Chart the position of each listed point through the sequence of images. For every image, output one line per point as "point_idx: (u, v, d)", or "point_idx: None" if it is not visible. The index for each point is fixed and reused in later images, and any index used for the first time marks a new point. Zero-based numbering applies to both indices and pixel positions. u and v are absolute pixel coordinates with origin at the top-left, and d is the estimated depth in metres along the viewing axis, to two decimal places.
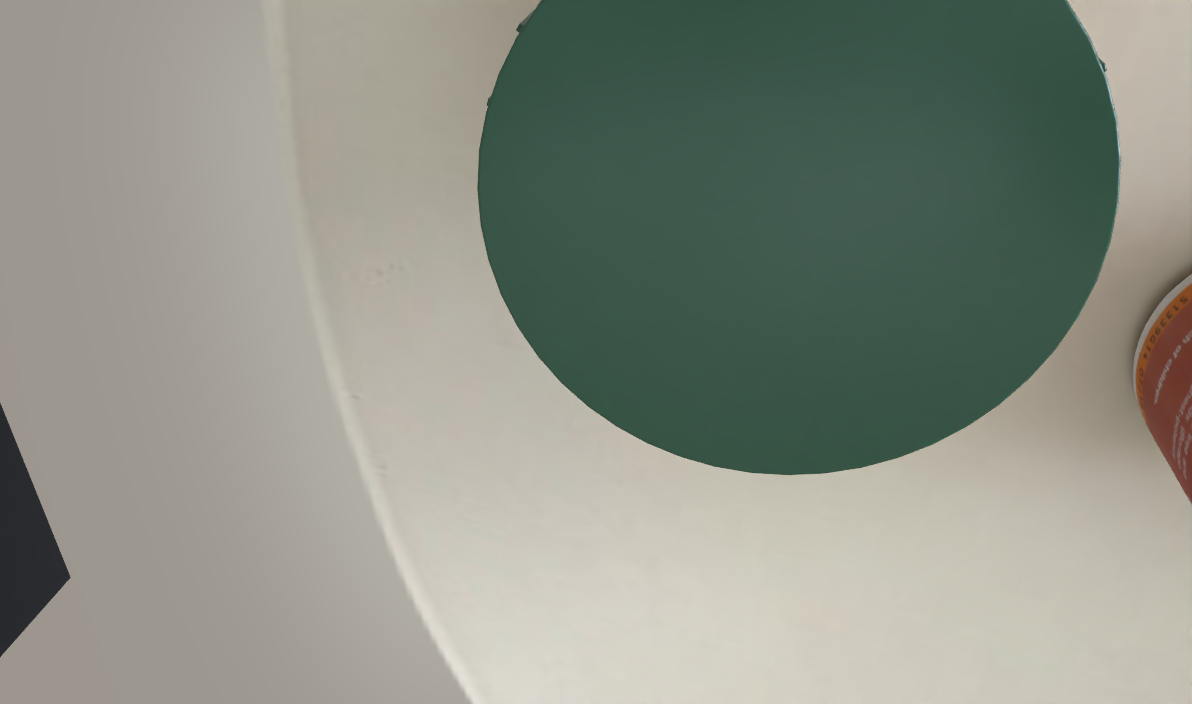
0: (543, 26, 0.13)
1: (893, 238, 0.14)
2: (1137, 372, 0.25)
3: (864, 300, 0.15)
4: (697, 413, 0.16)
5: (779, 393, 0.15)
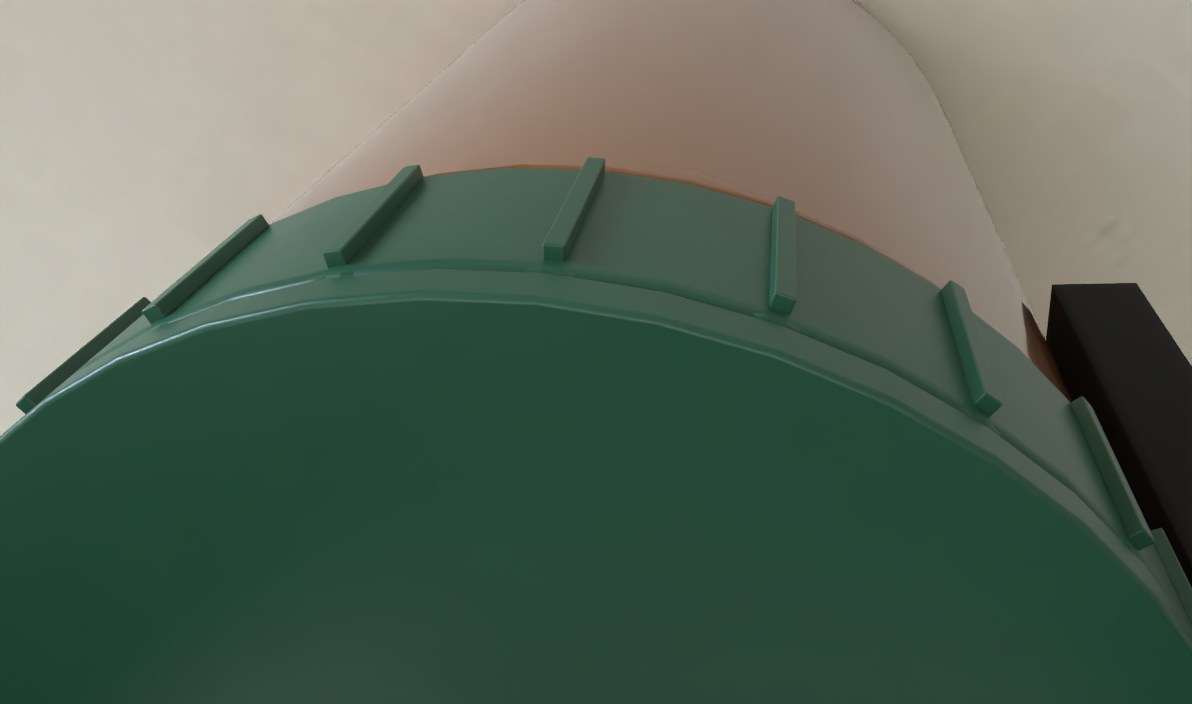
0: None
1: None
2: None
3: None
4: (1004, 679, 0.05)
5: (754, 621, 0.05)
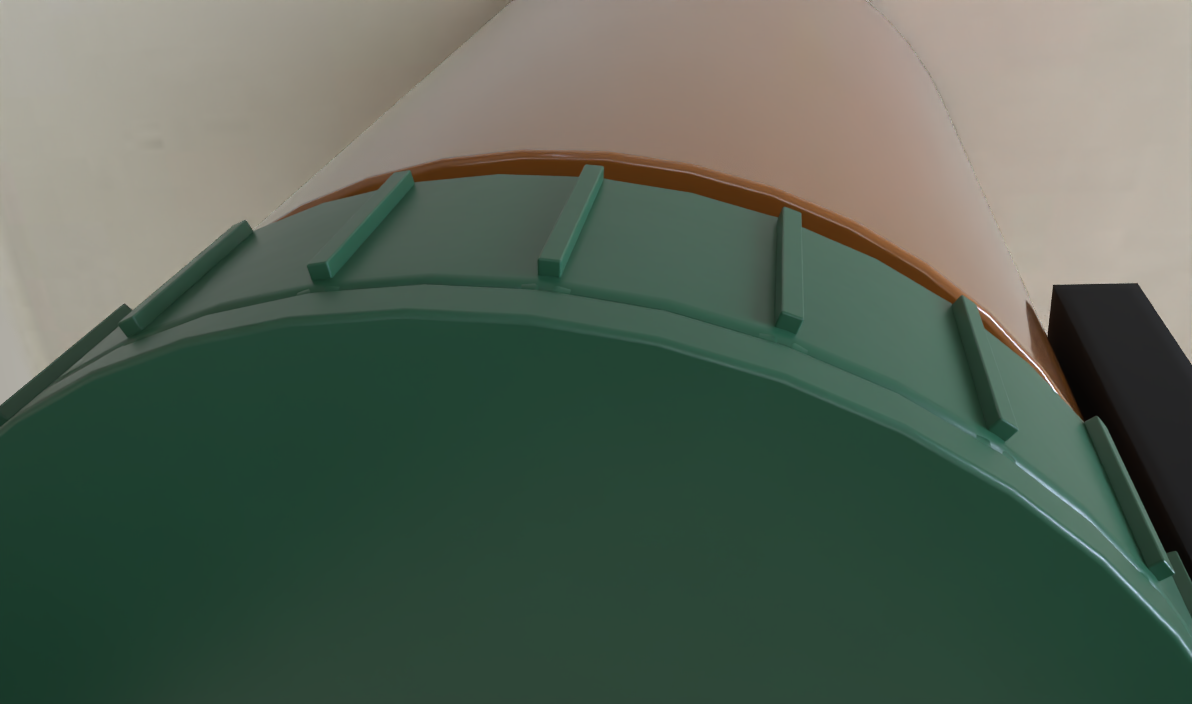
0: None
1: None
2: None
3: None
4: None
5: (756, 652, 0.05)
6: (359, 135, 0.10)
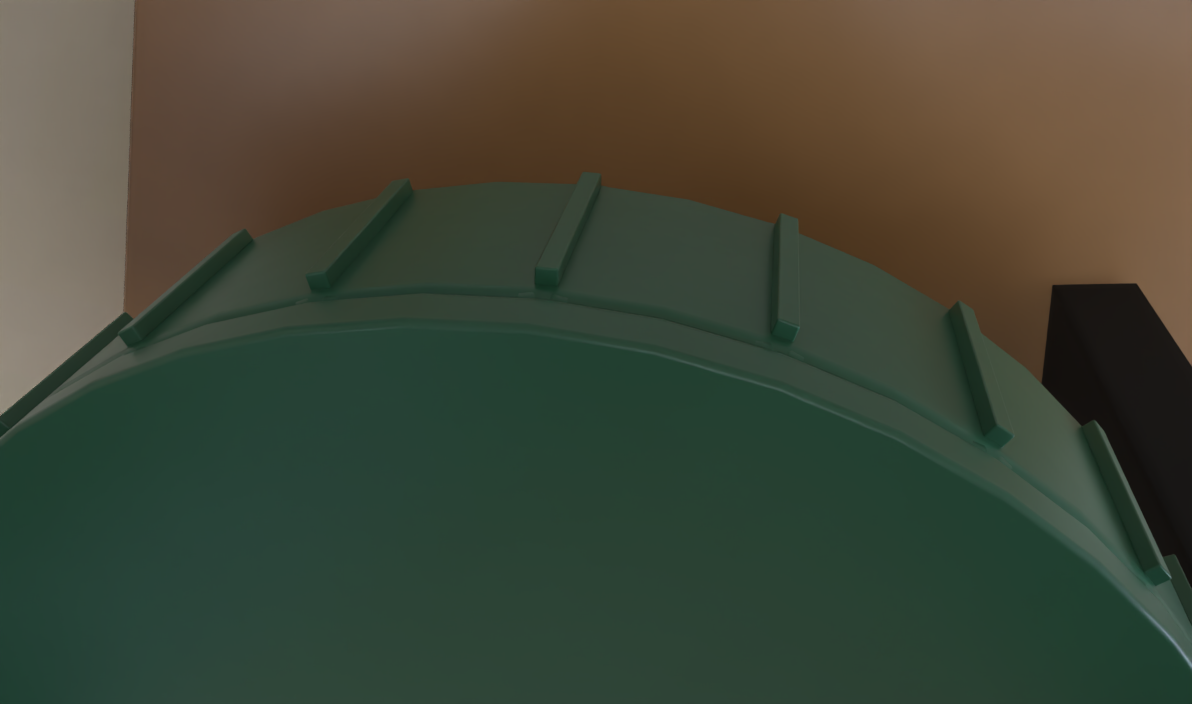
0: None
1: None
2: None
3: None
4: None
5: (754, 658, 0.05)
6: None
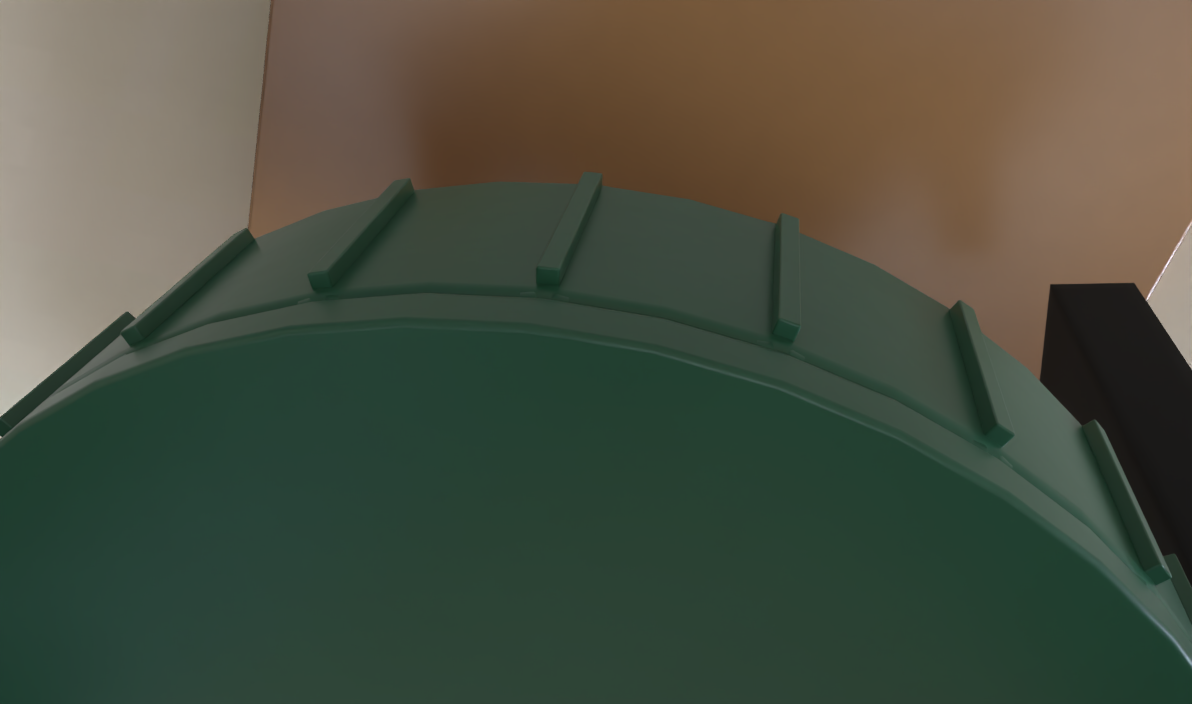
0: None
1: None
2: None
3: None
4: None
5: (755, 657, 0.05)
6: None
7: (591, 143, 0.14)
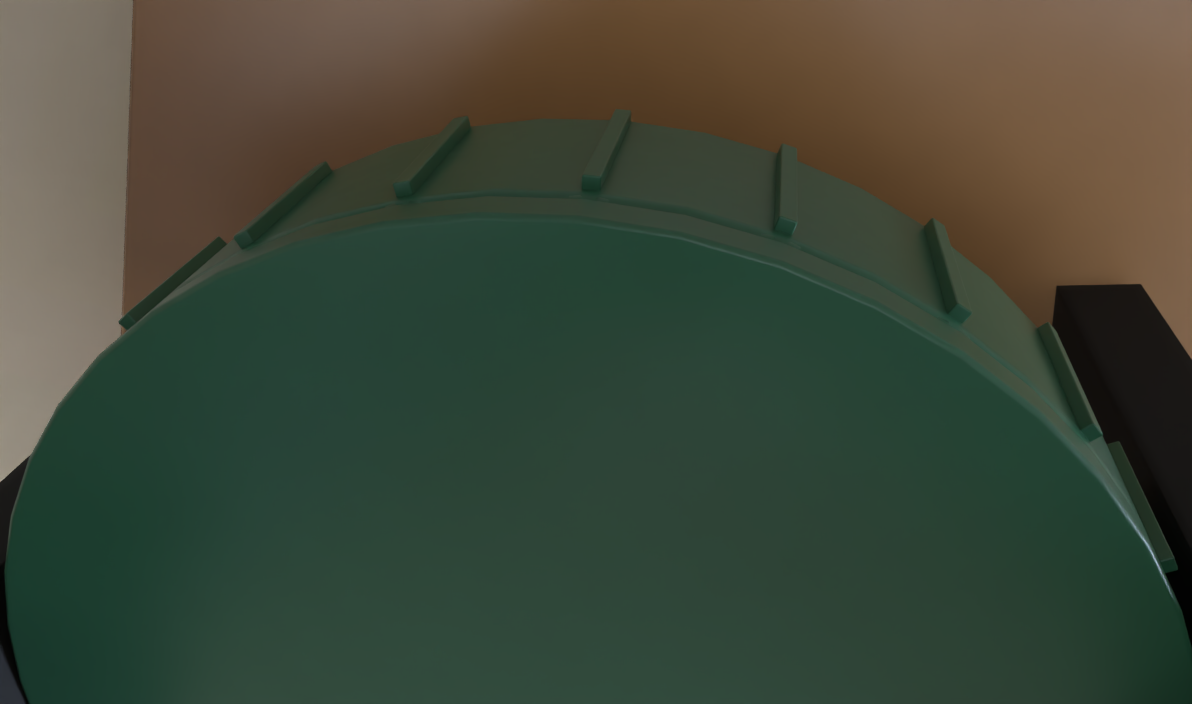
0: None
1: (393, 647, 0.07)
2: None
3: (486, 584, 0.07)
4: (972, 552, 0.06)
5: (759, 502, 0.06)
6: None
7: None
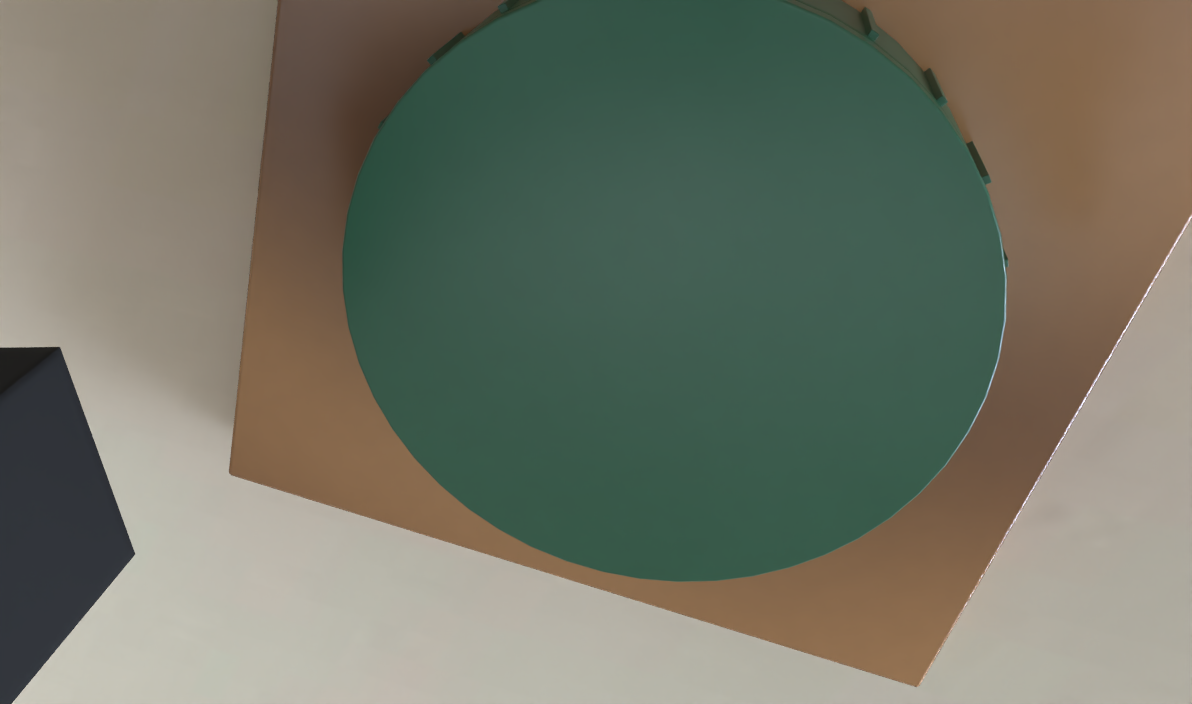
0: (761, 563, 0.15)
1: (568, 248, 0.13)
2: None
3: (624, 201, 0.13)
4: (882, 163, 0.12)
5: (772, 139, 0.12)
6: None
7: None
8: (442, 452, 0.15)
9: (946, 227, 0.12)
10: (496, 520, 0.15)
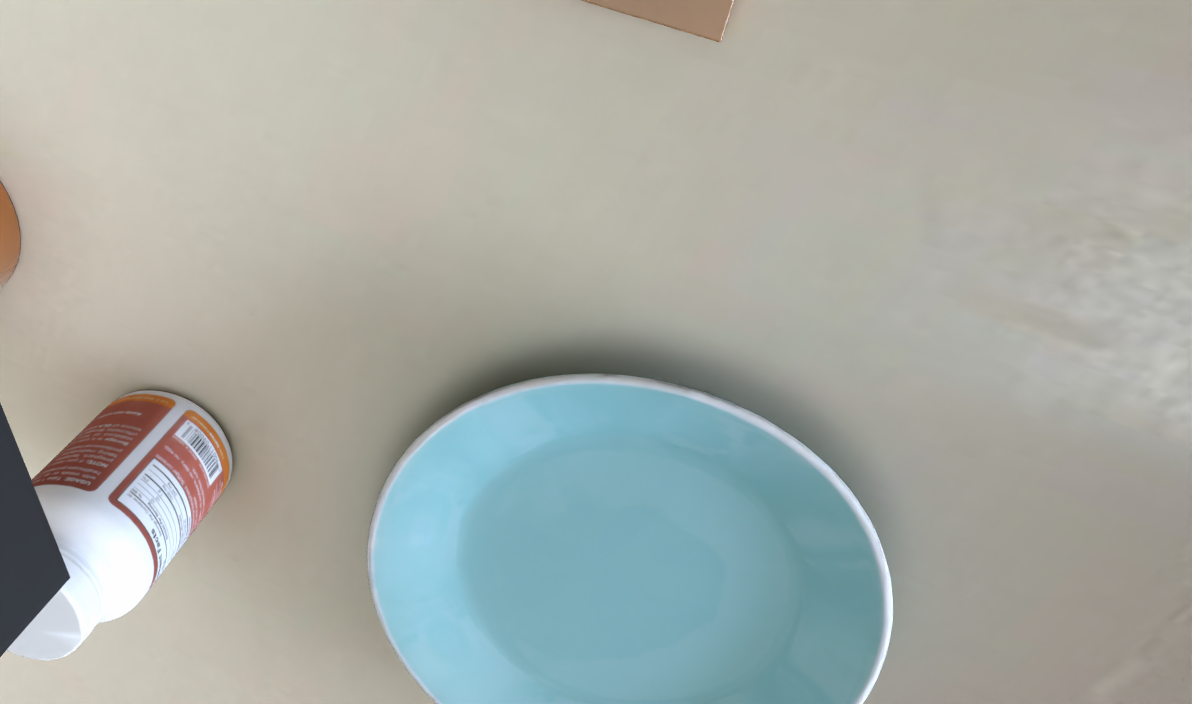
0: None
1: None
2: None
3: None
4: None
5: None
6: None
7: None
8: None
9: None
10: None
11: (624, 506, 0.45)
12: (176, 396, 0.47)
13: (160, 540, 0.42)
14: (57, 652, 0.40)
